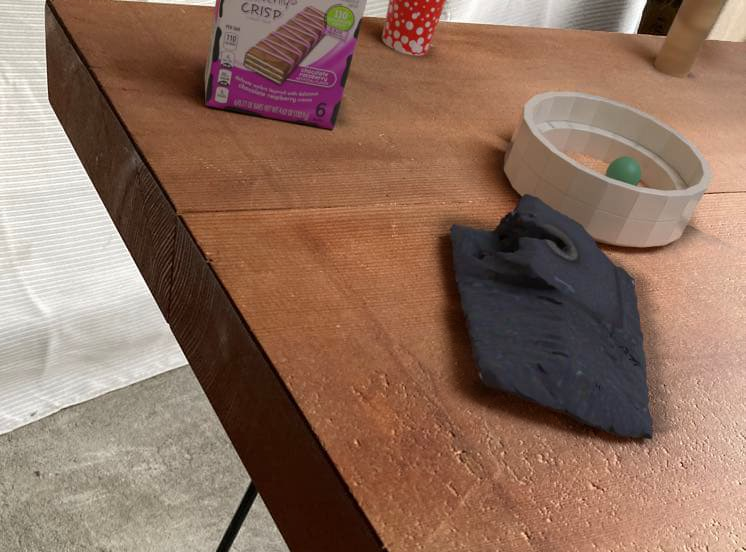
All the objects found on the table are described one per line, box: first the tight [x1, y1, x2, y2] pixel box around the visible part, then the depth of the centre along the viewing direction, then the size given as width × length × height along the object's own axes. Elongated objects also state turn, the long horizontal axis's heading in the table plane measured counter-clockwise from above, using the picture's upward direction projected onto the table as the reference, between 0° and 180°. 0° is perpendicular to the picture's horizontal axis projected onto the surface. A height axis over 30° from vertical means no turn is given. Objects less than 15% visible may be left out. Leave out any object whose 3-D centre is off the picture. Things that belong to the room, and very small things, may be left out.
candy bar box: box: [204, 0, 368, 130], centre depth 77 cm, size 11×5×16 cm, turn 97°
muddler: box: [653, 0, 726, 79], centre depth 106 cm, size 4×4×13 cm
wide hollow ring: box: [503, 90, 713, 248], centre depth 84 cm, size 17×17×6 cm
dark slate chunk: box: [449, 194, 654, 440], centre depth 68 cm, size 15×22×5 cm
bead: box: [605, 157, 641, 187], centre depth 85 cm, size 3×3×3 cm
